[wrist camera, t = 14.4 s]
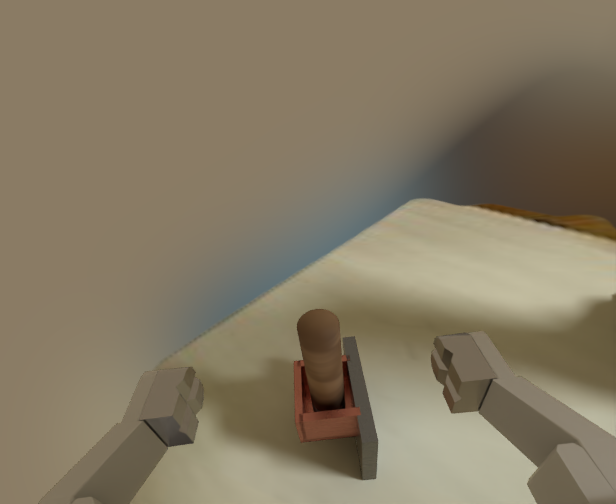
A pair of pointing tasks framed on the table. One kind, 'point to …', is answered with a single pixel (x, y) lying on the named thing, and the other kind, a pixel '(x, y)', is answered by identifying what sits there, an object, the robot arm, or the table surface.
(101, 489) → the robot arm
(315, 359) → the brown cylinder
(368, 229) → the table surface
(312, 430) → the drawer
